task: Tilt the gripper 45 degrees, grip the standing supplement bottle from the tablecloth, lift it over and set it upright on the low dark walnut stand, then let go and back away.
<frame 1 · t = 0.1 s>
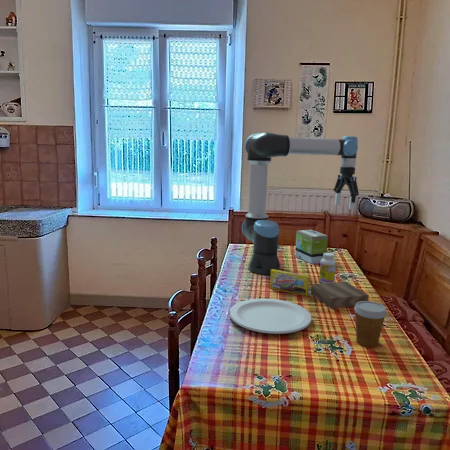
hand: (344, 206, 220), 28 cm above the table, tool pointing down, fingers open, 13 cm apart
walnut stand: (338, 299, 165), on the table
candy box: (288, 292, 172), on the table
disposable coffee cup: (366, 343, 129), on the table
plate: (269, 320, 144), on the table
tea box: (310, 259, 221), on the table
supplement bottle: (326, 282, 185), on the table
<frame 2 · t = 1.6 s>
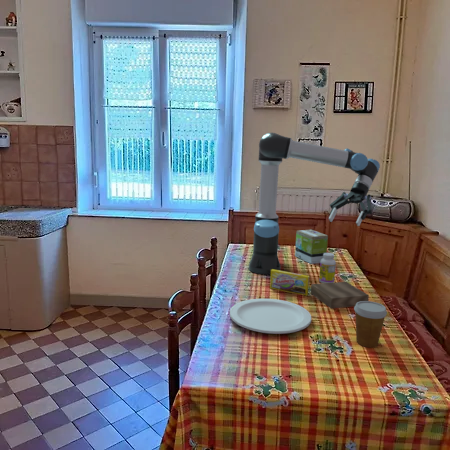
hand: (343, 222, 188), 26 cm above the table, tool tilted 45°, fingers open, 13 cm apart
nothing on the table moved.
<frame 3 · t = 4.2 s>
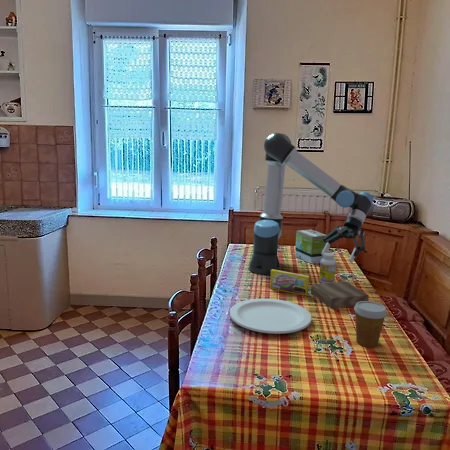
hand: (336, 258, 186), 10 cm above the table, tool tilted 45°, fingers open, 13 cm apart
nothing on the table moved.
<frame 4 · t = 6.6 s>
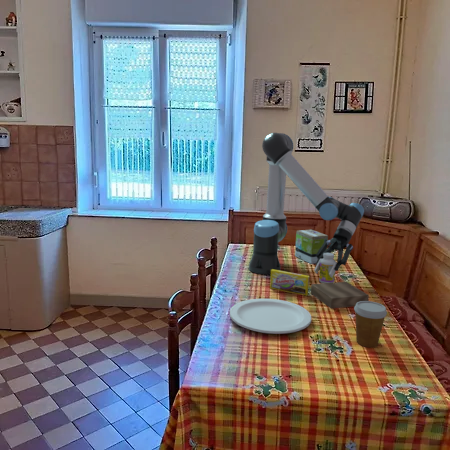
hand: (323, 273, 182), 4 cm above the table, tool tilted 45°, fingers closed on supplement bottle, 7 cm apart
supplement bottle: (326, 282, 185), on the table, touching gripper
everything else where it was.
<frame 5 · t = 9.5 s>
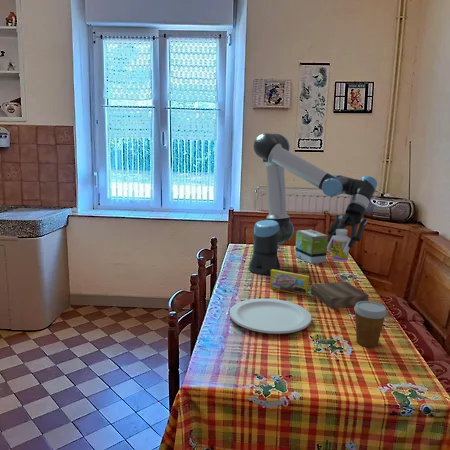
hand: (336, 251, 170), 17 cm above the table, tool tilted 45°, fingers closed on supplement bottle, 7 cm apart
supplement bottle: (339, 260, 174), point 13 cm above the table, touching gripper
everything else where it was.
when the fingers open (10 cm above the table, at t = 12.7 s): supplement bottle drops 1 cm, resting on walnut stand.
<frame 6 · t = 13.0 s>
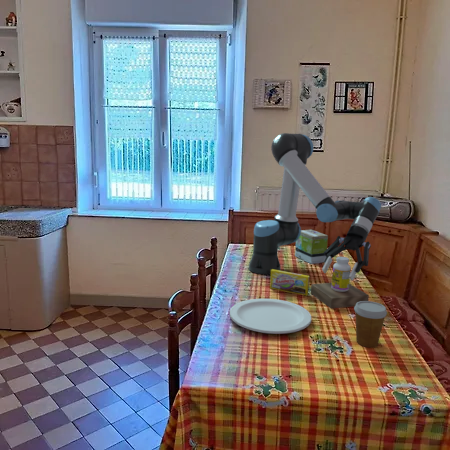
hand: (336, 274, 160), 11 cm above the table, tool tilted 45°, fingers open, 11 cm apart
supplement bottle: (339, 289, 164), point 4 cm above the table, touching walnut stand
everything else where it was.
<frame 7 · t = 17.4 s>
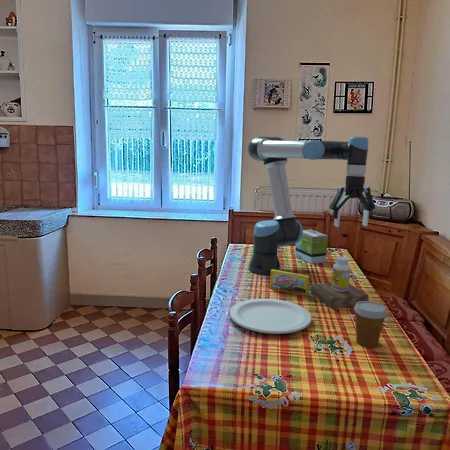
hand: (350, 226, 174), 27 cm above the table, tool pointing down, fingers open, 13 cm apart
nothing on the table moved.
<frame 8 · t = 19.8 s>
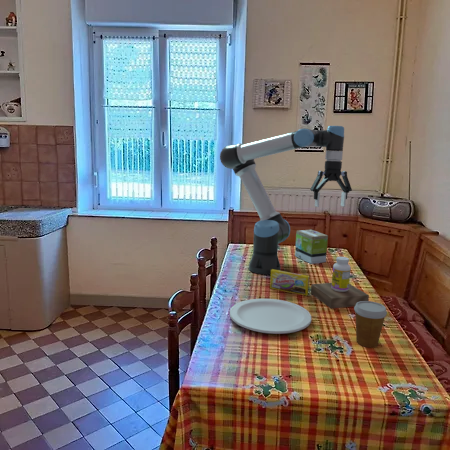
hand: (329, 206, 194), 32 cm above the table, tool pointing down, fingers open, 13 cm apart
nothing on the table moved.
at the end: supplement bottle inside the target area on the walnut stand (0.2 cm from its centre), point 3.8 cm above the walnut stand's base; supplement bottle tilted 0°; the gripper is holding nothing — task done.
